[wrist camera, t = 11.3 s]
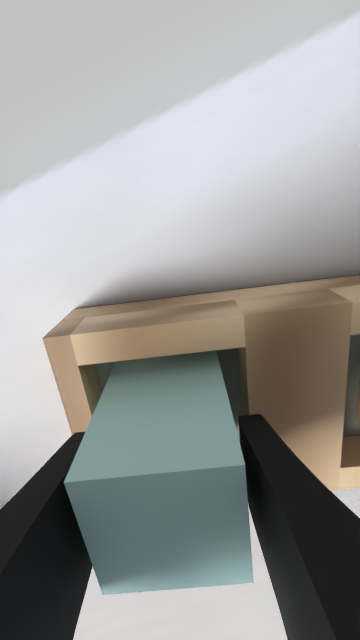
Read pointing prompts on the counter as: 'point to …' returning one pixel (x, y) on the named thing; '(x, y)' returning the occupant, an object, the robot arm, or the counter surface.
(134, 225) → the counter surface
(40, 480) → the robot arm
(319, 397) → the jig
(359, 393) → the tan cardboard box
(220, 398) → the block
